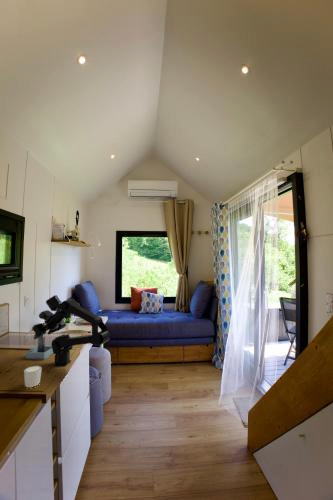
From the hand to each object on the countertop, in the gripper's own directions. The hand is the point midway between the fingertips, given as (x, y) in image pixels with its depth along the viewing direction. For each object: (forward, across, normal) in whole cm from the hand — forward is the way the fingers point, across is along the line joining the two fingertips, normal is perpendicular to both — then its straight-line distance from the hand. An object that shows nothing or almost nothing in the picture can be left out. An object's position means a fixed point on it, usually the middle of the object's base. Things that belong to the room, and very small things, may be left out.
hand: (41, 336), depth 136 cm
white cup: (-4, +23, +23) cm, 32 cm away
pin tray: (+12, -5, +6) cm, 14 cm away
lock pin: (+12, -5, +5) cm, 14 cm away
